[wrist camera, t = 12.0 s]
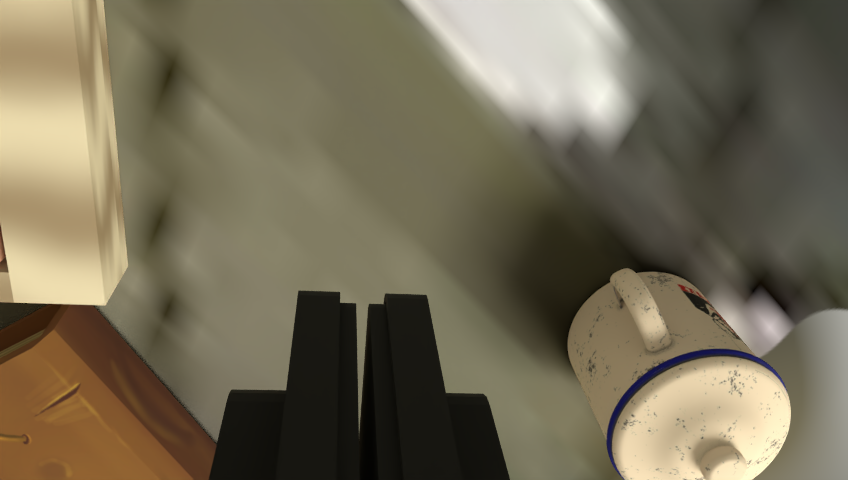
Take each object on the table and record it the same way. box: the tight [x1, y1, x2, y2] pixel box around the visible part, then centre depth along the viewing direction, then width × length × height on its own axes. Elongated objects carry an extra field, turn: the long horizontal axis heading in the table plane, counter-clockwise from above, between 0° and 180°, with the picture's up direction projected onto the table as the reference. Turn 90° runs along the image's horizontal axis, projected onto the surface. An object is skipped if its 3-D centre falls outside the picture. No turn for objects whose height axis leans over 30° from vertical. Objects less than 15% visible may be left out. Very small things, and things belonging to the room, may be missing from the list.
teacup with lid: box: [568, 268, 791, 480], centre depth 37 cm, size 12×9×12 cm
